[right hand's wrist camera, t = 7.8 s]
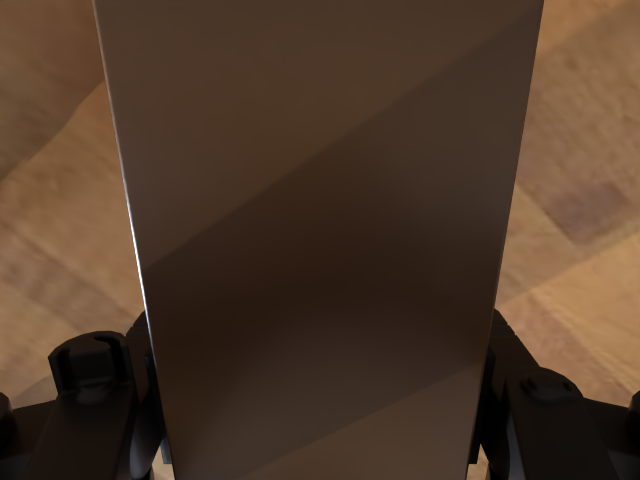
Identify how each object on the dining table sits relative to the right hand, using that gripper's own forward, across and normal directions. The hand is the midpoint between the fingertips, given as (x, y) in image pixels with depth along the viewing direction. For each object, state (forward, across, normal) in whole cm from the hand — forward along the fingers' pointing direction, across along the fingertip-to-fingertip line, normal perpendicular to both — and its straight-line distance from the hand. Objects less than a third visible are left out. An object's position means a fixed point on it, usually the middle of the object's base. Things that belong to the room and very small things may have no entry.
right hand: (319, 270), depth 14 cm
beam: (+1, 0, -18) cm, 18 cm away
